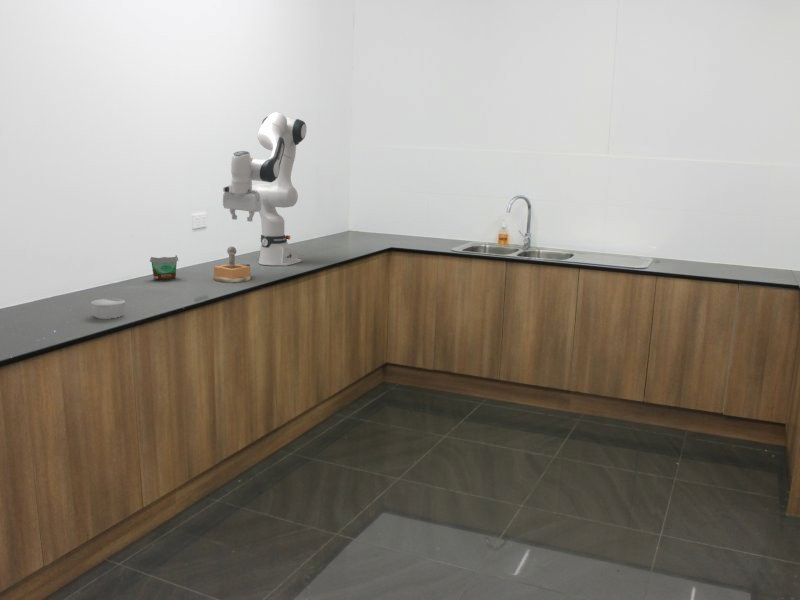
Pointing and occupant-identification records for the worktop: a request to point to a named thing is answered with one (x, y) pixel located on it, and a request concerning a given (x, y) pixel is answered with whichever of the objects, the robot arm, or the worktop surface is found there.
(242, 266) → the orange square frame
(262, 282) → the worktop surface
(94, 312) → the ramekin
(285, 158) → the robot arm
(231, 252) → the round peg stand
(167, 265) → the food container
